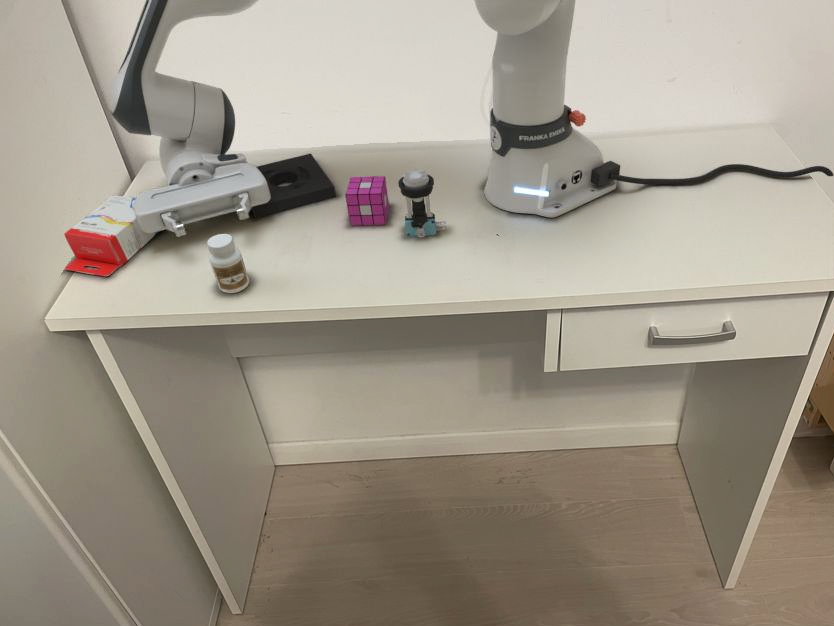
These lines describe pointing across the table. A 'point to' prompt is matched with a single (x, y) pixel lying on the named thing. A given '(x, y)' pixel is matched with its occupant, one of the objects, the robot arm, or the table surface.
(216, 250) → the pill bottle
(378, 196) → the puzzle toy
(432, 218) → the push button
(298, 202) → the pad
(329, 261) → the table surface
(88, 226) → the ink box
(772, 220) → the table surface
